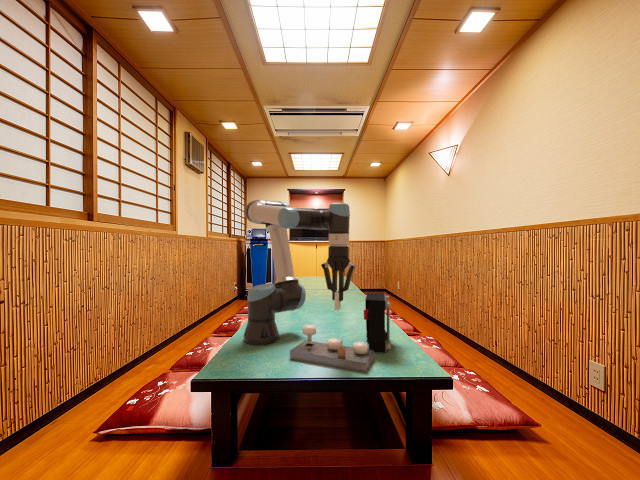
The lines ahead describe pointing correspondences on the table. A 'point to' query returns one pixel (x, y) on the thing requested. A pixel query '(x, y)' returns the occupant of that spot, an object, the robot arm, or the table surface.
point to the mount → (331, 356)
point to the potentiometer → (341, 351)
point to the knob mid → (333, 343)
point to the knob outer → (360, 347)
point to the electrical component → (377, 321)
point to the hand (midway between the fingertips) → (337, 309)
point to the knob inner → (309, 331)
